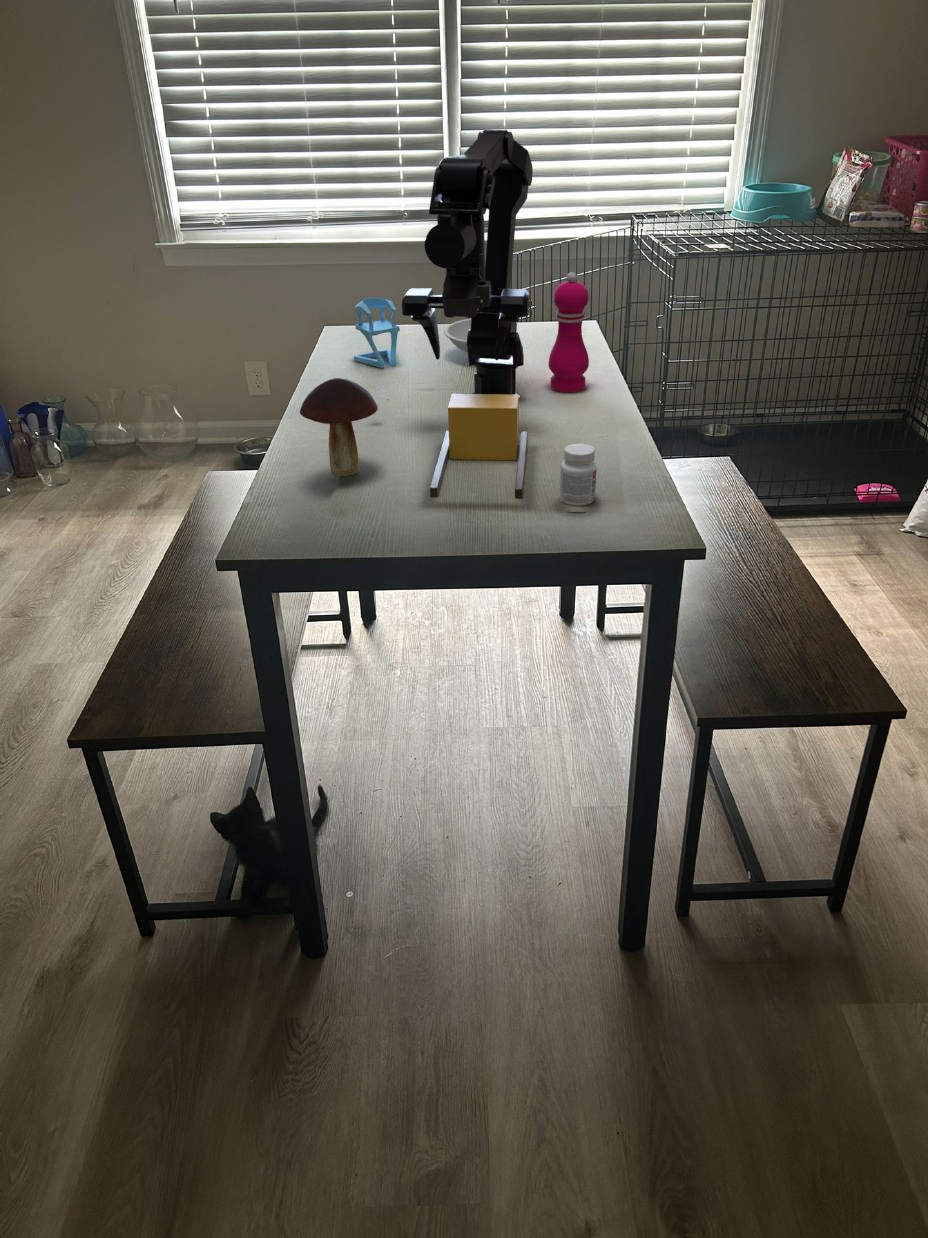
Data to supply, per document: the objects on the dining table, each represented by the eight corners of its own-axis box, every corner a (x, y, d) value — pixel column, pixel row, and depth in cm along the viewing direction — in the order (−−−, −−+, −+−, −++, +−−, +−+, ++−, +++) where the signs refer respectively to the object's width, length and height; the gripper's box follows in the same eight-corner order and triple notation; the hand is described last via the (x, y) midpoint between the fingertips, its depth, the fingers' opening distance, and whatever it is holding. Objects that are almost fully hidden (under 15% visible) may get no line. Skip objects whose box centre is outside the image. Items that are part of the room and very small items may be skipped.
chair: (371, 370, 183) (366, 307, 176) (353, 359, 189) (348, 298, 182) (406, 363, 186) (403, 301, 179) (388, 353, 192) (384, 292, 186)
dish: (448, 342, 198) (448, 317, 195) (517, 341, 197) (517, 317, 194) (440, 367, 183) (439, 341, 180) (515, 368, 182) (515, 341, 179)
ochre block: (453, 444, 146) (452, 393, 142) (518, 445, 145) (518, 394, 141) (449, 459, 141) (447, 407, 137) (516, 460, 140) (517, 408, 136)
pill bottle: (599, 512, 128) (602, 453, 123) (565, 516, 127) (567, 457, 122) (588, 497, 132) (590, 440, 127) (555, 501, 131) (556, 444, 126)
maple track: (442, 446, 149) (442, 430, 147) (531, 447, 148) (532, 431, 146) (425, 505, 131) (424, 487, 129) (527, 507, 129) (527, 489, 128)
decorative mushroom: (394, 484, 137) (387, 383, 129) (322, 500, 133) (310, 396, 125) (366, 459, 145) (358, 362, 137) (297, 473, 141) (285, 374, 133)
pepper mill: (561, 395, 168) (565, 278, 157) (540, 384, 173) (542, 270, 163) (595, 389, 170) (601, 273, 160) (573, 378, 176) (578, 265, 165)
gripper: (391, 265, 132) (398, 374, 141) (525, 265, 130) (523, 376, 139) (405, 248, 142) (411, 352, 150) (530, 248, 140) (529, 354, 148)
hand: (467, 359), depth 146 cm, fingers open, 9 cm apart
